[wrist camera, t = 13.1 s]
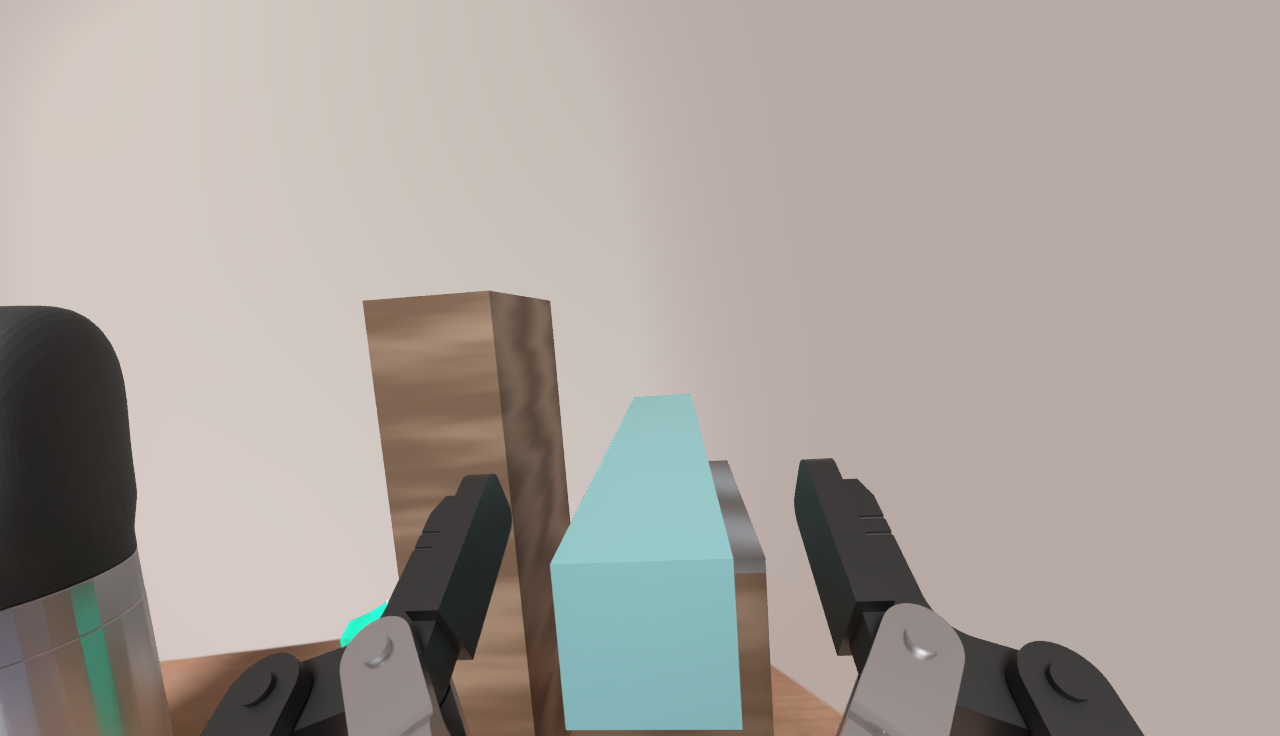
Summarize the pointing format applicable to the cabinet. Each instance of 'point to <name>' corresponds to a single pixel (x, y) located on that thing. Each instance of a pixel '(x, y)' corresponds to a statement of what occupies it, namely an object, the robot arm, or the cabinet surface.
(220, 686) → the cabinet surface
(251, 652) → the cabinet surface
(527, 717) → the stand
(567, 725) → the batten
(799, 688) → the cabinet surface
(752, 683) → the brown wooden block
